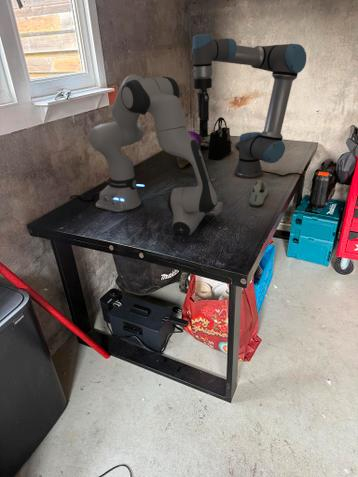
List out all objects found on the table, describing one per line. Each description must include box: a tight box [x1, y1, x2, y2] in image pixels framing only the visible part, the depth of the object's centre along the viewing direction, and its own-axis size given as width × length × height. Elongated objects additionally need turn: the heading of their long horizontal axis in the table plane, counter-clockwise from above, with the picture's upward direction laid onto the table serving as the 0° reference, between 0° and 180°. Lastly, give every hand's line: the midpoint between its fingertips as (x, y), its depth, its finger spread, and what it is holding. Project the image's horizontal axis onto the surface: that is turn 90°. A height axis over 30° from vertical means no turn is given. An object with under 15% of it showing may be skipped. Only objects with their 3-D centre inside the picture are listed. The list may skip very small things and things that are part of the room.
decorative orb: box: [188, 130, 202, 146], centre depth 230 cm, size 15×15×15 cm
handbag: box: [207, 116, 232, 161], centre depth 217 cm, size 21×9×25 cm, turn 148°
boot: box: [175, 156, 191, 169], centre depth 209 cm, size 9×24×20 cm, turn 168°
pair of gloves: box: [200, 135, 233, 149], centre depth 250 cm, size 30×26×5 cm
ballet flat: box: [249, 179, 269, 207], centre depth 158 cm, size 8×24×8 cm, turn 163°
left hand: (203, 198), depth 146 cm, fingers closed on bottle, 5 cm apart
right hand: (203, 135), depth 147 cm, fingers closed on cap, 4 cm apart
